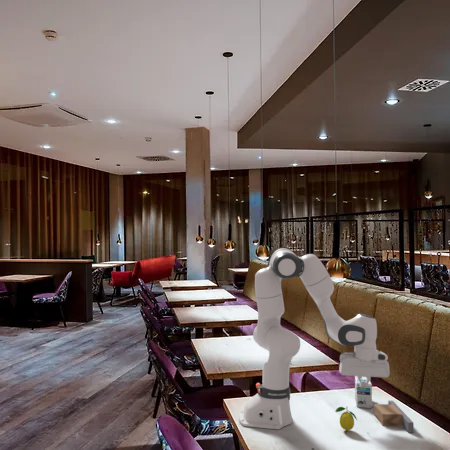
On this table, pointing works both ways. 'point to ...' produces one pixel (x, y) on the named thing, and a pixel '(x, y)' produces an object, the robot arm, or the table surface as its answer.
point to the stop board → (404, 419)
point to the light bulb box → (363, 394)
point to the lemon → (346, 419)
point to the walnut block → (388, 415)
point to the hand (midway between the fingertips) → (363, 386)
